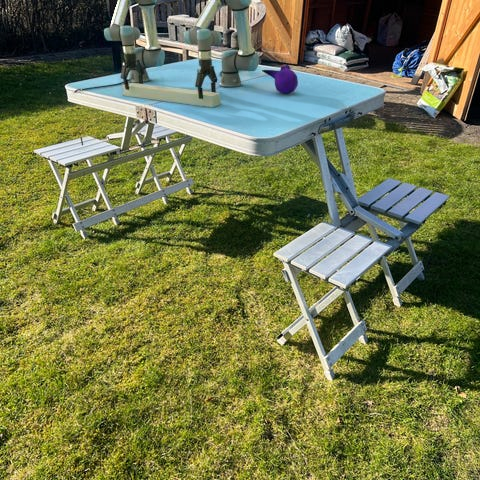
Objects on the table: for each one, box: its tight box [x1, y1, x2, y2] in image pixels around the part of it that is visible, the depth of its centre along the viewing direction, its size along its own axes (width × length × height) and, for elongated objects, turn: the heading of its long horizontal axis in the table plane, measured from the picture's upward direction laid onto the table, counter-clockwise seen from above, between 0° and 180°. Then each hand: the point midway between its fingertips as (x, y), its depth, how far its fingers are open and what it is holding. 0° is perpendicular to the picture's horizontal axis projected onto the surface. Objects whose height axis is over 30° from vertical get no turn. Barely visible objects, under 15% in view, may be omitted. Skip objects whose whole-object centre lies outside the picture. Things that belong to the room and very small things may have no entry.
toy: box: [261, 64, 299, 95], centre depth 294 cm, size 16×18×27 cm
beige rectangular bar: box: [121, 82, 222, 108], centre depth 284 cm, size 71×9×7 cm, turn 59°
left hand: (134, 87), depth 296 cm, fingers open, 13 cm apart
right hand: (207, 96), depth 270 cm, fingers open, 13 cm apart
